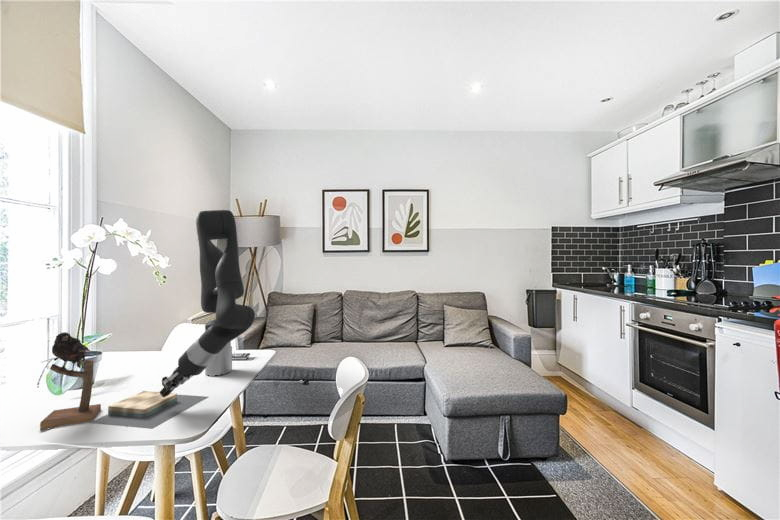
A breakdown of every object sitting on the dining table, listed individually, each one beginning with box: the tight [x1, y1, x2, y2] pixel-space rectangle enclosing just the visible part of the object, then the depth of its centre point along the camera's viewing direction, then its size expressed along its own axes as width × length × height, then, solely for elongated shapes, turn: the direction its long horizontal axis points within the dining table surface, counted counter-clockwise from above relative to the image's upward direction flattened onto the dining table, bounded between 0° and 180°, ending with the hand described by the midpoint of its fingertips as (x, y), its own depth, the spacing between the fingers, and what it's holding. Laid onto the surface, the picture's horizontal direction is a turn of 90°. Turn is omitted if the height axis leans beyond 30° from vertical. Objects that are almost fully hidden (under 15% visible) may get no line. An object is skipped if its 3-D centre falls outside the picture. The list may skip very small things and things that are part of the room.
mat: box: [89, 394, 209, 429], centre depth 105 cm, size 22×20×1 cm
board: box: [107, 390, 178, 418], centre depth 106 cm, size 12×2×12 cm
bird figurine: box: [39, 332, 102, 431], centre depth 101 cm, size 11×14×25 cm
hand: (163, 394), depth 105 cm, fingers closed
